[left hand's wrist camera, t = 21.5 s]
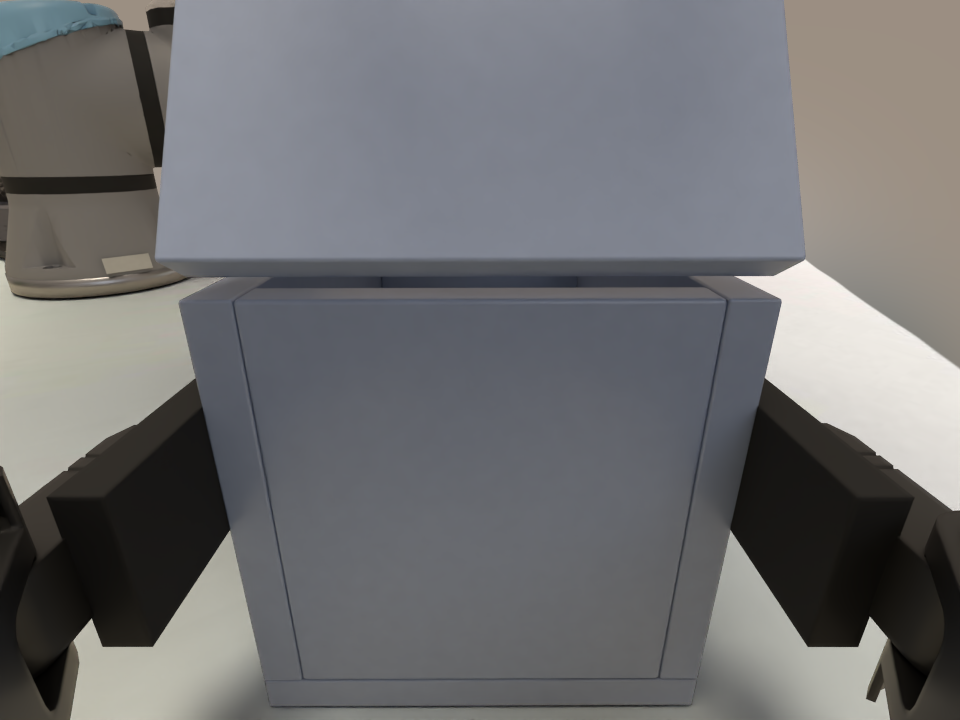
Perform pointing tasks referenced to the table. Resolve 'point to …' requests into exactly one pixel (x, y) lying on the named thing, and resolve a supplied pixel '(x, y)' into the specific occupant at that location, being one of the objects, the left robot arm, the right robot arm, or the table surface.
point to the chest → (480, 478)
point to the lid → (479, 139)
